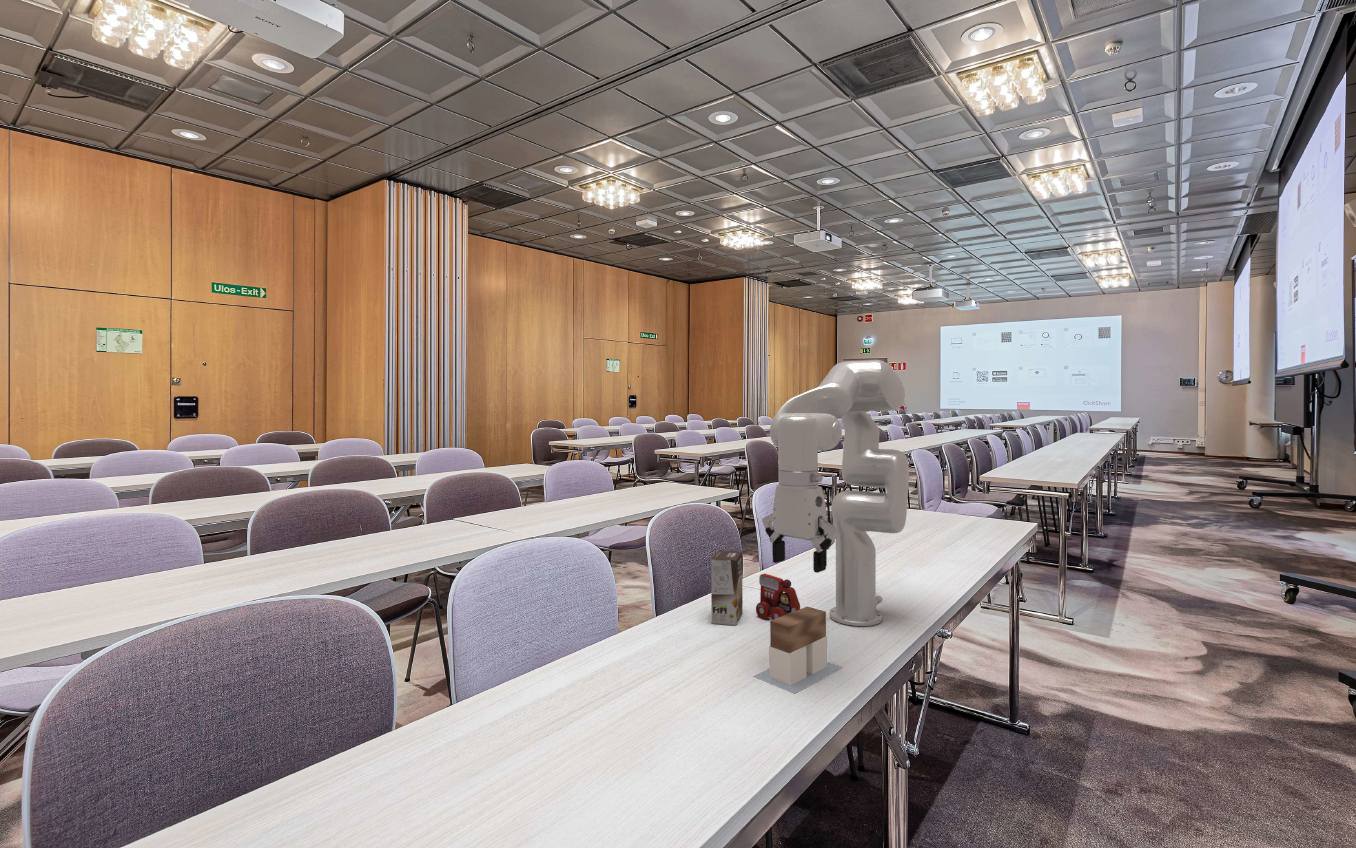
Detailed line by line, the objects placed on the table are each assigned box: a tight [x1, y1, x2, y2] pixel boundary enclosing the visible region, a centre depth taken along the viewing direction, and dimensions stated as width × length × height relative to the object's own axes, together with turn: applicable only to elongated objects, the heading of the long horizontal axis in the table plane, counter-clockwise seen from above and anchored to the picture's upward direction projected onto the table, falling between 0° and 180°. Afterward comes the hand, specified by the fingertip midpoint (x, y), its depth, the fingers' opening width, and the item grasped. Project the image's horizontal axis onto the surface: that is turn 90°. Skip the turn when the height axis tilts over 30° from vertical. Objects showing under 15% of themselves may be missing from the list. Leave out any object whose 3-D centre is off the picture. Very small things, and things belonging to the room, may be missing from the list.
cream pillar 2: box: [806, 636, 828, 674], centre depth 123 cm, size 5×5×6 cm
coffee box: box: [710, 550, 744, 626], centre depth 154 cm, size 9×6×16 cm
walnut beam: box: [769, 606, 827, 653], centre depth 121 cm, size 12×4×5 cm, turn 133°
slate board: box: [752, 661, 844, 695], centre depth 121 cm, size 16×10×1 cm, turn 133°
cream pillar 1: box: [768, 645, 806, 686], centre depth 118 cm, size 5×5×6 cm
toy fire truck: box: [755, 573, 801, 620], centre depth 153 cm, size 7×12×10 cm, turn 38°
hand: (798, 566), depth 120 cm, fingers open, 9 cm apart
